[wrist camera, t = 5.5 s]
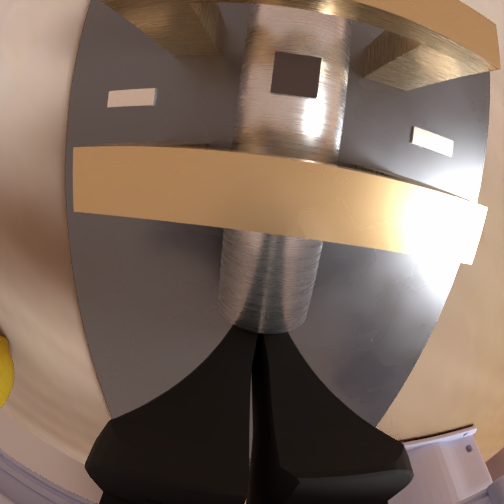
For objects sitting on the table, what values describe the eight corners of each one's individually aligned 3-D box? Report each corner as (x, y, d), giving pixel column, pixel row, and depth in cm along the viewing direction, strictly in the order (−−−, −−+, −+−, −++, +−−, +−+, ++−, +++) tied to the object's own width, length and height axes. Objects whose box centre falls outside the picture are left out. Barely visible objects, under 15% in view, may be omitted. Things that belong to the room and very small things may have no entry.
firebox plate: (479, 41, 6) (562, 20, 1) (349, 452, 16) (360, 515, 11) (105, -16, 6) (31, -64, 1) (120, 425, 16) (95, 485, 11)
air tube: (267, -54, 6) (261, -99, 3) (344, -43, 5) (360, -86, 3) (226, 280, 10) (208, 327, 8) (303, 290, 10) (310, 342, 8)
